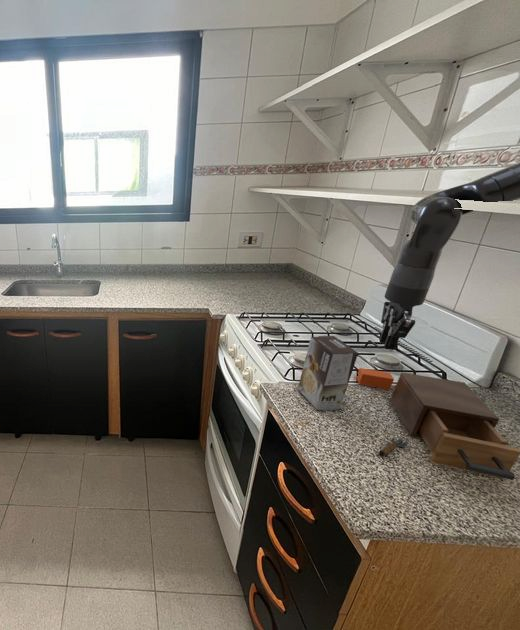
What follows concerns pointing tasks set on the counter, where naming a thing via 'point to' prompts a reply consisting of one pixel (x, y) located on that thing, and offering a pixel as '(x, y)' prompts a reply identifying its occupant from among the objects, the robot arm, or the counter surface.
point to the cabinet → (435, 400)
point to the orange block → (375, 378)
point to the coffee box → (326, 372)
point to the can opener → (392, 446)
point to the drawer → (467, 444)
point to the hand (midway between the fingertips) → (386, 345)
